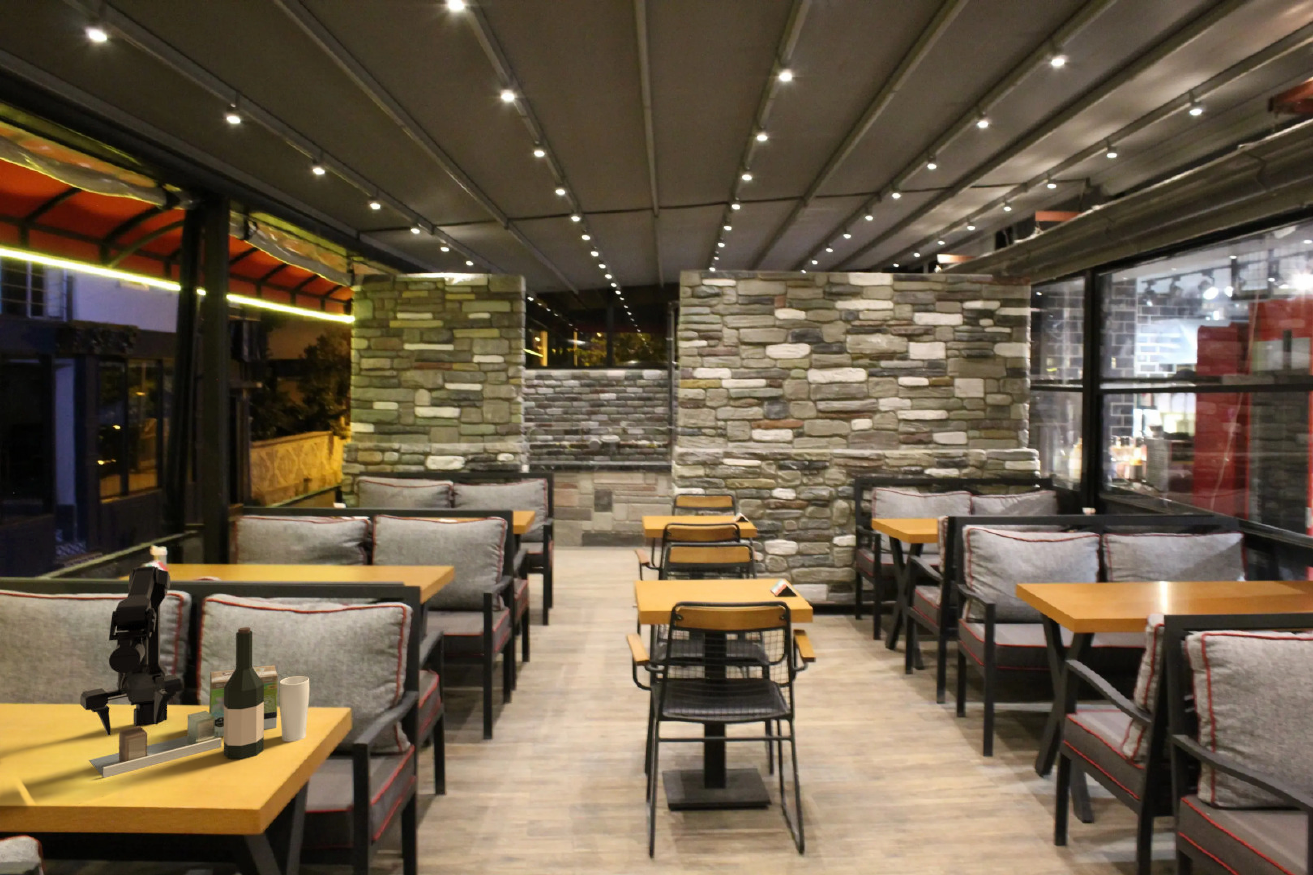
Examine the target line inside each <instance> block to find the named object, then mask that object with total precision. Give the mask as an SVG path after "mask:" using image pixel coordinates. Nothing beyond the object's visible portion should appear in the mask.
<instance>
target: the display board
mask: <svg viewBox="0 0 1313 875" xmlns="http://www.w3.org/2000/svg"><path fill="white" fill-rule="evenodd" d="M187 740H188V735H185V736H181V737H177V738H176V737H175V738H173V739H168V740H164V741H161V742H157V743H153V744H149V745H148V744H147V756H146V757H142V758H138V759H135V760H131V761H127V762H123V763H120V762H119V752H116V753H112V754H109V755H105V756H100V757H96V758H91V759H89V760H88V761H89V762H90V763H91V764H92V766H93V767H94V768H95V769H96V771H98V773H99V774H100V775H101V776H102V778H104V779H106V778H109V777H114V776H117V775H121V774H124V773H128V772H133V771H136V770H140V769H143V768H149V767H151V766H154V765H156V766H157V765H159V764H162V763H167V762H170V761H175V760H178V759H182V758H185V757H190V756H193V755H197V754H200V753H205V752H208V751H213V750H215V749H216V750H217V749H220V748H222V738H221V737H216V738H215V739H213V740H209V741H205V742H201V743H197V744H193V745H190V744H189V743H188V744H187Z"/></svg>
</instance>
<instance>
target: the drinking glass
mask: <svg viewBox="0 0 1313 875" xmlns="http://www.w3.org/2000/svg"><path fill="white" fill-rule="evenodd" d="M278 684H279V685H278V686H279V688H278V701H279V712H280V714H279V715H280V725H281V740H282V741H283V742H286V743H287V742H296V741H297V742H298V741H301V740H304V739H305V738H306V737H307V724H308V723H307V722H308V713H309V712H308V711H309V702H310V678H309V677H308V676H304V675H303V676H301V675H300V676H299V675H297V676H296V675H295V676H289V677H286V678H283V679H281V680H280V681H279V683H278Z"/></svg>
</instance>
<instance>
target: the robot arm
mask: <svg viewBox="0 0 1313 875" xmlns="http://www.w3.org/2000/svg"><path fill="white" fill-rule="evenodd" d="M127 588H128V594H127V597H126V598H125V599H122V600H120V601H119V602H118V604H117V606H116V608H115V610H113V611H112V614H111V621H110V627H109V637H108V641H116V642H117V643H116V646H115V648H114V649H113V650H112V652H111V654H110V656H109V658H108V664H109V667H110V668H111V670H113V671H114V672H115V673H117V682H116V687H117V689H115V690H110V691H105V689H103V688H101V687H100V688H95V689H91V690H86V691H82V693H81V694H80V698H79V702H80V706H81V707H83V709H84V710H85V711H91V712H92V713H96V714H97V716H98V717H99V719H100V721H101V724H102V725H103V729H104V730H105V731H104V732H105V733H106V735H107V736H108V737H109V736H111V732H112V730H111V721H110V706H109V705H108V703H109V701H112V700H113V701H114V700H117V699H124V698H128V702H129V703H130V706H135V708H134V709H133V725H134V727H137V726H140V727H143V726H153V725H158V724H160V723H162V722H165V721H167V720H168V702H170V700H174V699H175V696H176V695H177V693H178V692H181V691H183V690H184V688H183V687H184V683H183V680H182V679H181V678H180V677H178V676H177V675H175V674H168V668H167V667H166V666H165V665H164V663H163V661H162V660H161V604H162V603H163V601H164V599H165V598H166V596H167V595H168V590H170V588H171V575H170V573H169V571H167V570H164V569H161V568H159V567H158V566H154V565H150V566H137V567H134V568H133V569H132V571H131V572H130V573H129V575H128V587H127Z"/></svg>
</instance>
